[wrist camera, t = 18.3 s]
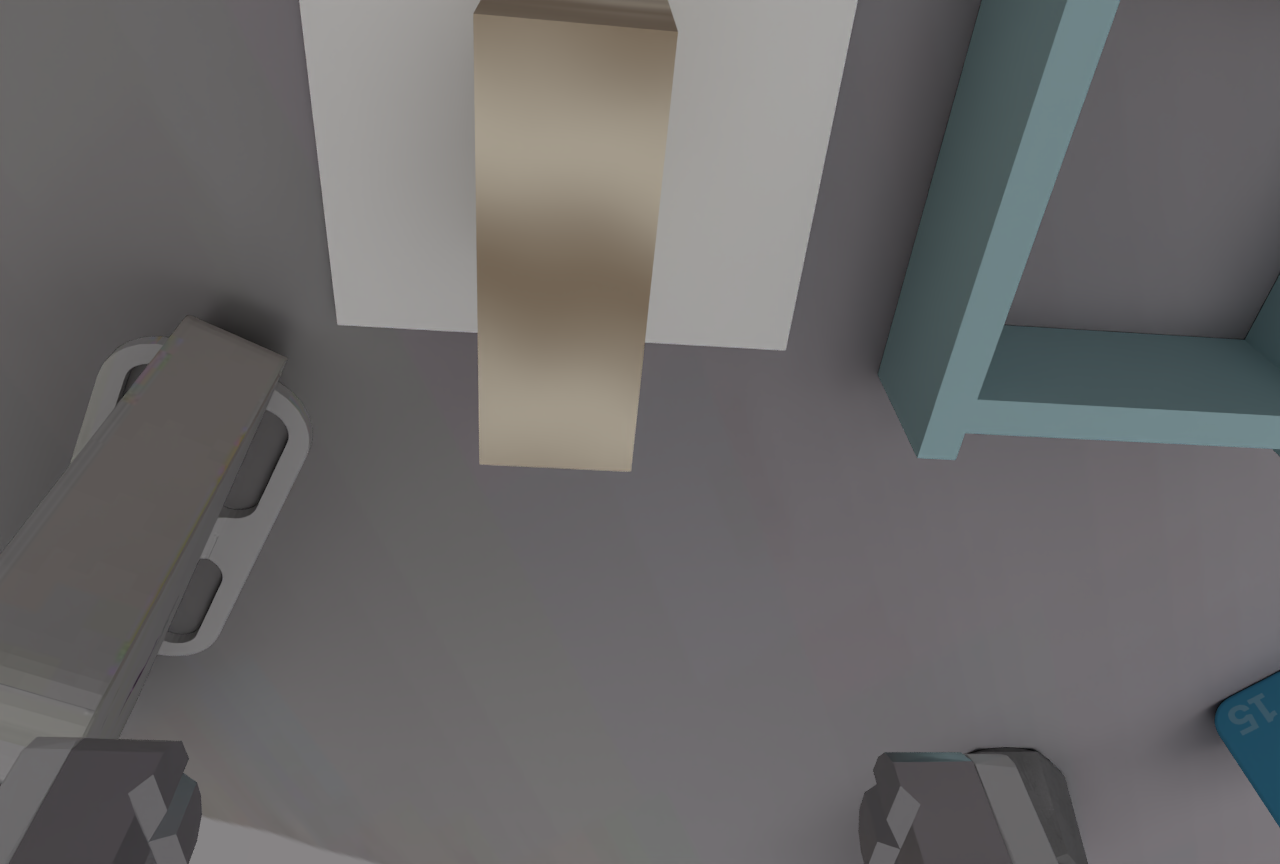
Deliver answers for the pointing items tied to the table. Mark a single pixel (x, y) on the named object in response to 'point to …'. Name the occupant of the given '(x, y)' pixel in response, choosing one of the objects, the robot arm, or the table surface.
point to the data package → (1255, 737)
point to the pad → (692, 175)
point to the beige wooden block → (566, 222)
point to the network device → (138, 531)
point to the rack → (997, 254)
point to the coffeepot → (1048, 802)
